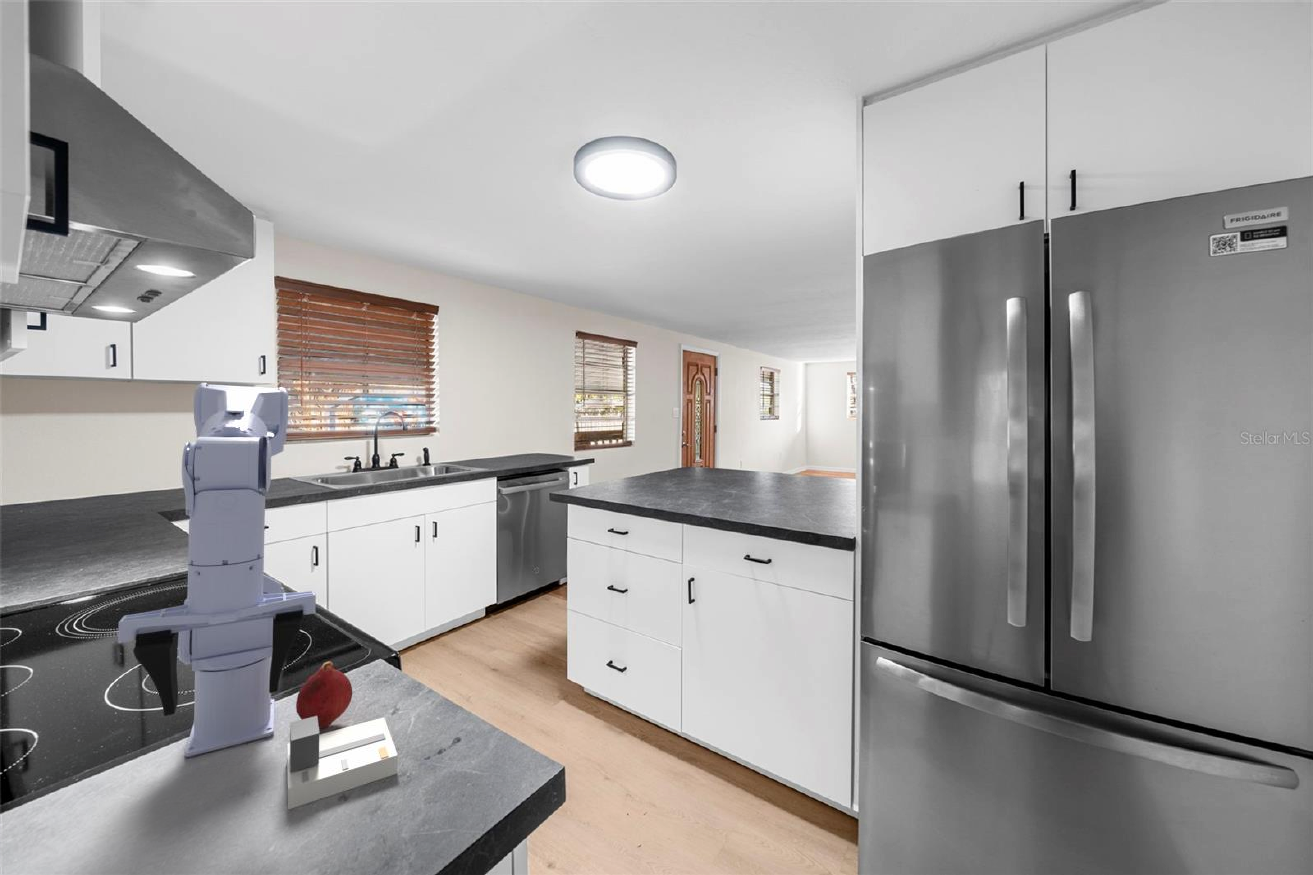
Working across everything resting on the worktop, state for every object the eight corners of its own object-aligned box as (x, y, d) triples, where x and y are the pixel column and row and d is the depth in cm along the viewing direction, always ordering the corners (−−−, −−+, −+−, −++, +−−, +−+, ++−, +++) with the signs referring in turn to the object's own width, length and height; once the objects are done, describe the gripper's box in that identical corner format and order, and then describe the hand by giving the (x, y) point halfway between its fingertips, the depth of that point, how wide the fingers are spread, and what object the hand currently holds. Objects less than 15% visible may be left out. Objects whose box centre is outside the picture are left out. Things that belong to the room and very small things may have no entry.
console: (286, 761, 57) (287, 742, 57) (383, 733, 63) (384, 716, 63) (287, 809, 50) (288, 788, 50) (397, 773, 56) (397, 754, 56)
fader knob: (289, 752, 56) (290, 722, 56) (316, 744, 57) (317, 715, 57) (290, 772, 52) (291, 740, 52) (318, 764, 54) (319, 733, 54)
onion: (324, 744, 61) (325, 676, 61) (283, 737, 62) (284, 670, 62) (362, 718, 66) (363, 655, 66) (323, 712, 68) (325, 651, 68)
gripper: (110, 579, 43) (107, 743, 43) (318, 558, 52) (315, 695, 52) (130, 562, 49) (127, 707, 49) (314, 545, 57) (312, 669, 57)
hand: (224, 699), depth 51 cm, fingers open, 7 cm apart
